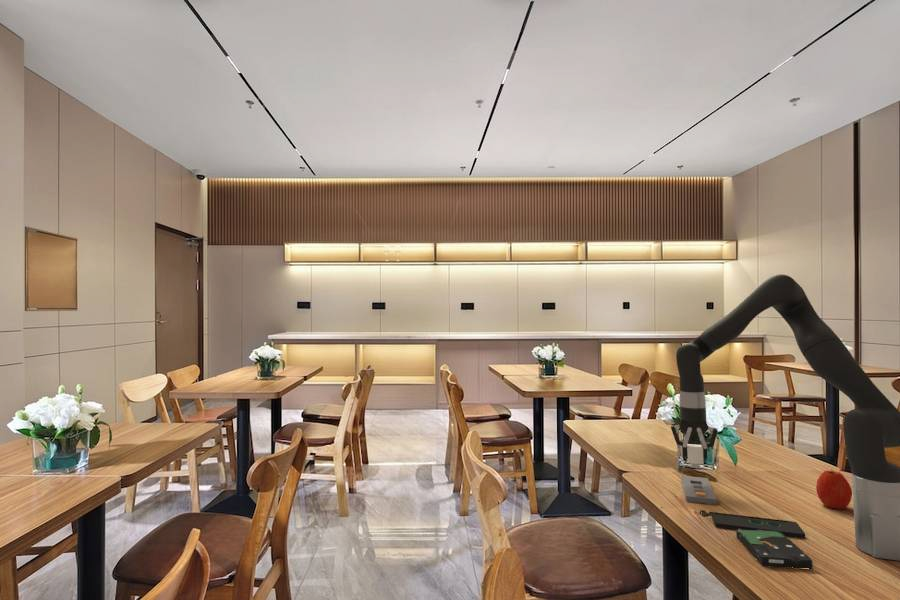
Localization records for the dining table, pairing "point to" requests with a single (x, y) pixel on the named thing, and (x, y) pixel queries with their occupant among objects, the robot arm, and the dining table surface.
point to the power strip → (698, 490)
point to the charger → (695, 455)
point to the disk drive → (773, 549)
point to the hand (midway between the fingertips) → (695, 458)
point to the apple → (834, 490)
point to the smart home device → (756, 524)
